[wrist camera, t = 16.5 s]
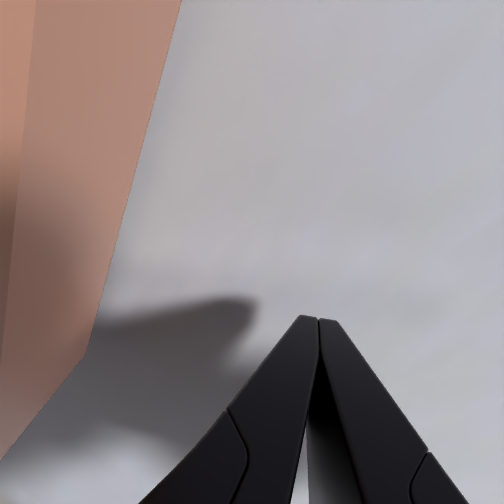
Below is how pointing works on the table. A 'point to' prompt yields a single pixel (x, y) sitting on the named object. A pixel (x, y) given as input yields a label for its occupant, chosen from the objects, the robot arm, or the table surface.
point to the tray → (66, 176)
